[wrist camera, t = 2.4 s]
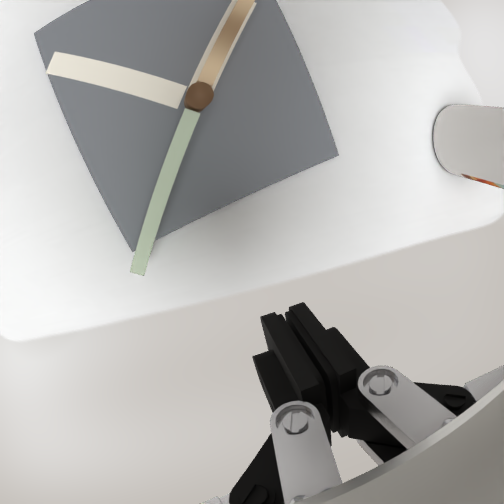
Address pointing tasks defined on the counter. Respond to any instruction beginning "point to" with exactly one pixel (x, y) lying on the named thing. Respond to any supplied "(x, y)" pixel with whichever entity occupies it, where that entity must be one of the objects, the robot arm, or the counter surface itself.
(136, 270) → the fence hinged panel
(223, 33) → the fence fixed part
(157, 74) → the board
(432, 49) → the counter surface
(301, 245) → the counter surface
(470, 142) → the milk bottle
